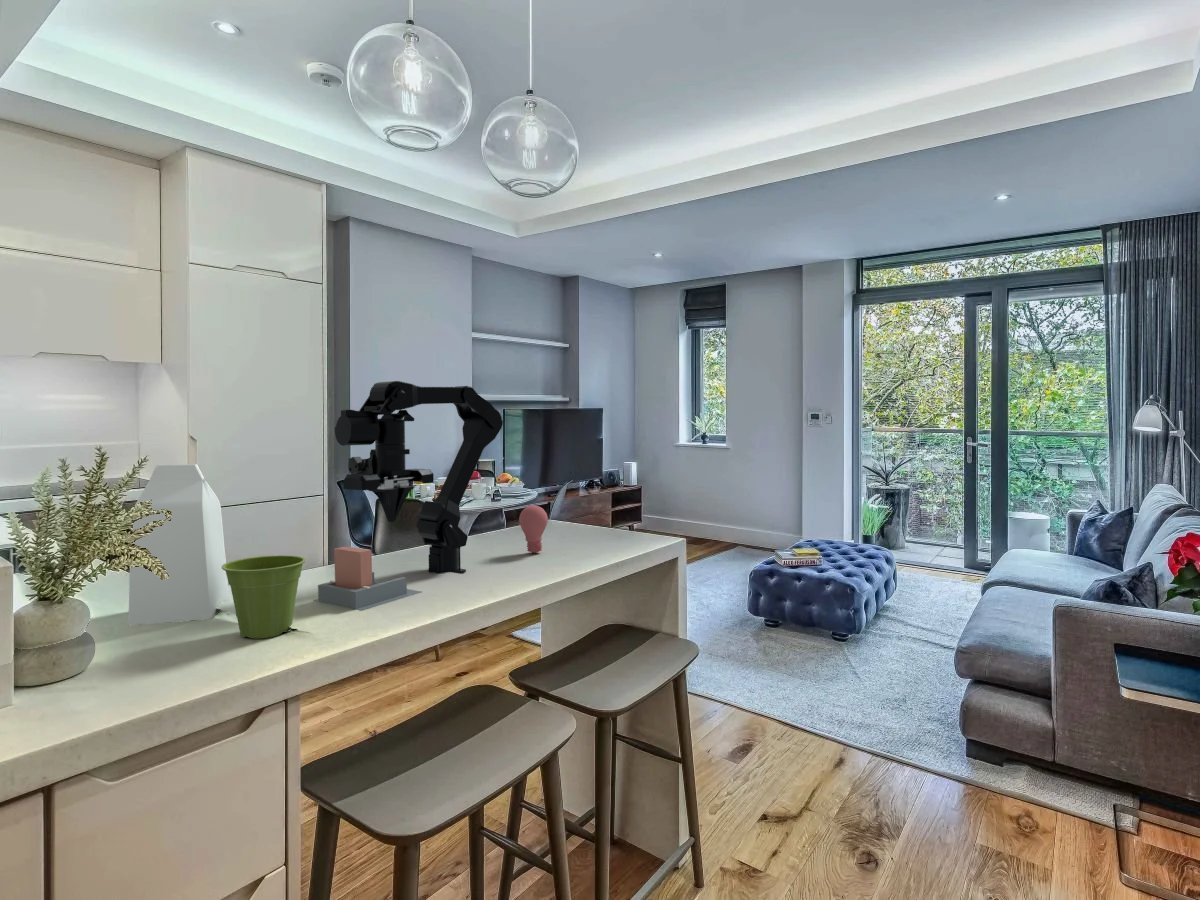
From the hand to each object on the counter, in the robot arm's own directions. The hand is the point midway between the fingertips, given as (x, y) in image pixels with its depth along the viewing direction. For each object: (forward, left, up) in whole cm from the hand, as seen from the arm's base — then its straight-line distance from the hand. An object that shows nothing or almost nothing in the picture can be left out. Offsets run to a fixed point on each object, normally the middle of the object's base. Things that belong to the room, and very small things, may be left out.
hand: (391, 521), depth 131 cm
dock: (+10, +5, -13) cm, 17 cm away
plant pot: (+30, +5, -13) cm, 33 cm away
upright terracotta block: (+13, +5, -12) cm, 19 cm away
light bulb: (-40, +6, -13) cm, 43 cm away
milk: (+31, -18, -13) cm, 38 cm away
